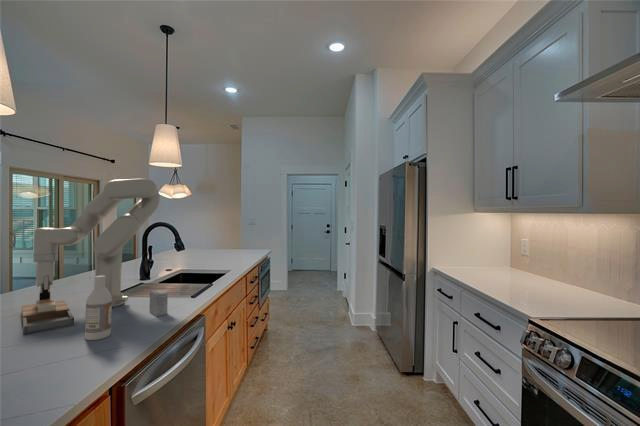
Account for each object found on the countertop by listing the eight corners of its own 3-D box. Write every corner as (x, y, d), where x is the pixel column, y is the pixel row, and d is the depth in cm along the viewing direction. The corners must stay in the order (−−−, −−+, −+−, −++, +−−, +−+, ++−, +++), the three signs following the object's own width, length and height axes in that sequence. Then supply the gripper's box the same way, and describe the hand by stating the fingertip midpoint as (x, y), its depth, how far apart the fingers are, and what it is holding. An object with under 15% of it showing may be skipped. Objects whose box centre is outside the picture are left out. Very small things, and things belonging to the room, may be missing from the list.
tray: (22, 324, 109) (23, 317, 109) (69, 316, 118) (69, 310, 118) (23, 334, 100) (24, 326, 100) (73, 325, 110) (74, 318, 110)
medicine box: (167, 314, 124) (168, 293, 124) (155, 316, 121) (156, 295, 121) (160, 310, 129) (161, 289, 129) (148, 312, 126) (149, 291, 126)
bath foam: (108, 339, 98) (110, 277, 99) (82, 342, 95) (84, 278, 96) (112, 331, 105) (114, 273, 105) (87, 334, 102) (89, 274, 102)
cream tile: (37, 309, 117) (37, 304, 117) (54, 306, 120) (54, 301, 120) (38, 312, 113) (38, 307, 113) (55, 309, 117) (55, 304, 117)
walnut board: (21, 313, 120) (21, 305, 120) (64, 307, 130) (64, 300, 130) (22, 324, 109) (22, 316, 109) (69, 316, 118) (69, 309, 118)
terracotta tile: (36, 305, 121) (36, 300, 121) (52, 303, 125) (52, 298, 125) (36, 308, 118) (37, 303, 118) (53, 306, 121) (54, 301, 121)
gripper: (32, 256, 127) (31, 300, 127) (34, 260, 117) (32, 308, 116) (56, 254, 133) (55, 296, 132) (59, 258, 122) (58, 304, 122)
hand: (44, 302), depth 124 cm, fingers closed
